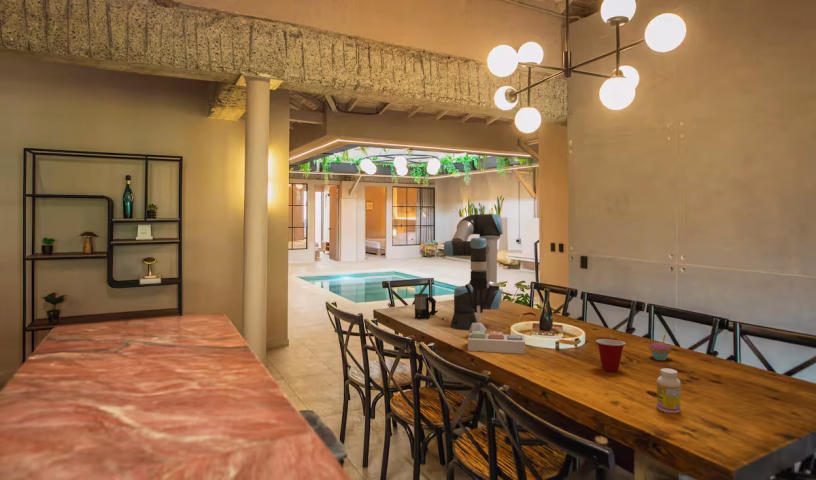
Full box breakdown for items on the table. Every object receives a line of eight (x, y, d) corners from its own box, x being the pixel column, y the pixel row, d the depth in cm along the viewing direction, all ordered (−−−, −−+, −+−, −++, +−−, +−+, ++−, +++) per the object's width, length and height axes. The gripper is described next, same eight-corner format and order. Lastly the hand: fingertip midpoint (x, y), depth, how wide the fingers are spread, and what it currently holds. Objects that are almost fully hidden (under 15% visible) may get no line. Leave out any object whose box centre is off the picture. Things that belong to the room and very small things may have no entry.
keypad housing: (470, 343, 226) (469, 332, 225) (524, 346, 220) (524, 335, 220) (467, 351, 214) (467, 339, 214) (525, 353, 208) (525, 342, 208)
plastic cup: (623, 367, 189) (623, 338, 188) (626, 375, 179) (626, 345, 178) (595, 364, 193) (595, 336, 192) (596, 372, 182) (596, 343, 182)
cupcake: (670, 357, 201) (670, 330, 200) (672, 362, 193) (672, 335, 193) (648, 354, 205) (648, 328, 204) (649, 360, 197) (649, 333, 196)
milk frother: (413, 319, 281) (412, 295, 280) (416, 314, 296) (416, 291, 296) (436, 320, 278) (435, 296, 278) (438, 314, 294) (438, 291, 293)
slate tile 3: (508, 341, 219) (508, 334, 218) (521, 342, 217) (521, 334, 217) (508, 345, 213) (508, 337, 213) (521, 345, 211) (521, 337, 211)
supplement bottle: (654, 404, 152) (655, 366, 151) (677, 406, 150) (677, 368, 149) (659, 412, 145) (660, 373, 145) (682, 415, 143) (683, 374, 143)
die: (484, 342, 231) (491, 325, 234) (469, 334, 231) (476, 317, 234) (478, 343, 239) (485, 327, 242) (464, 335, 239) (471, 319, 242)
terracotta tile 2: (490, 338, 220) (490, 330, 220) (502, 339, 219) (502, 331, 219) (489, 341, 215) (489, 334, 214) (502, 342, 213) (502, 334, 213)
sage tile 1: (472, 337, 222) (472, 330, 222) (485, 338, 221) (485, 330, 221) (471, 341, 216) (471, 333, 216) (484, 341, 215) (484, 333, 215)
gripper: (464, 271, 215) (464, 320, 216) (492, 271, 212) (492, 321, 213) (465, 269, 222) (465, 317, 223) (492, 269, 219) (492, 318, 220)
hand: (478, 319), depth 218 cm, fingers closed
